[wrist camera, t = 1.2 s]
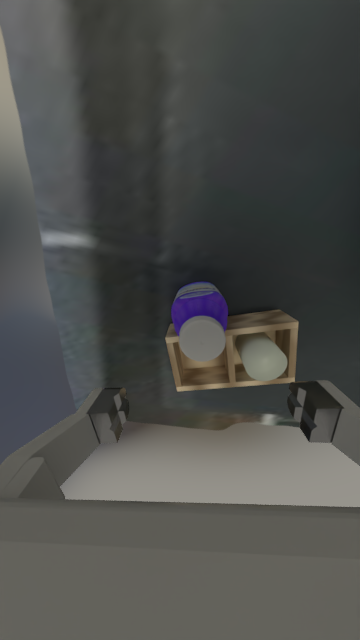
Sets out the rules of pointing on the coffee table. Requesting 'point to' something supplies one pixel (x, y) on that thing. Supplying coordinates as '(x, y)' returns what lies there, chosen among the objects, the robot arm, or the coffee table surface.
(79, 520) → the robot arm
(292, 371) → the rack
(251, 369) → the pale green egg
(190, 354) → the bottle
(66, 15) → the coffee table surface
